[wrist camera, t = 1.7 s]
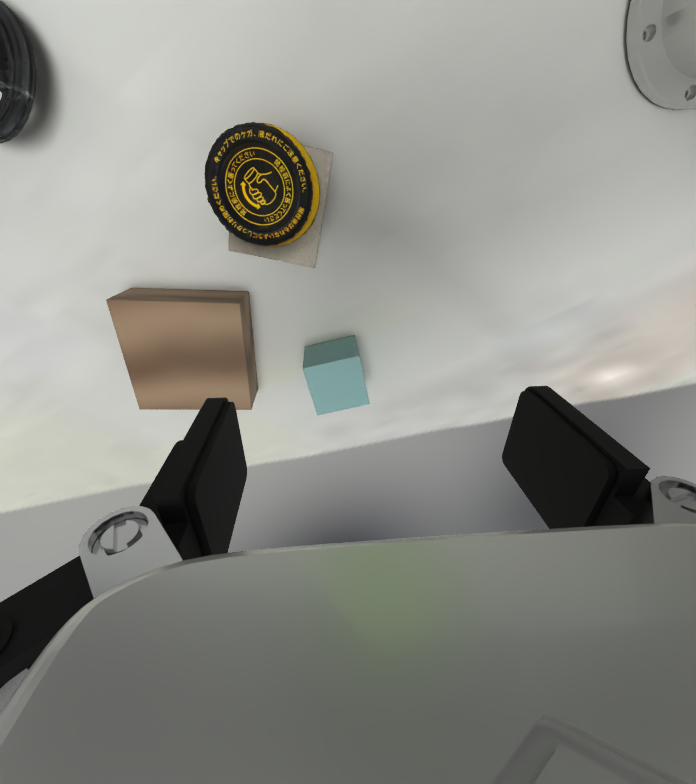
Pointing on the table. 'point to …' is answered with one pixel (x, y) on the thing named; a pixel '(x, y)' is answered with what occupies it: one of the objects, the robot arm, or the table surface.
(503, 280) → the table surface
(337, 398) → the teal cube
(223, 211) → the condiment
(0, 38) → the milk frother
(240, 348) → the block
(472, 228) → the table surface
